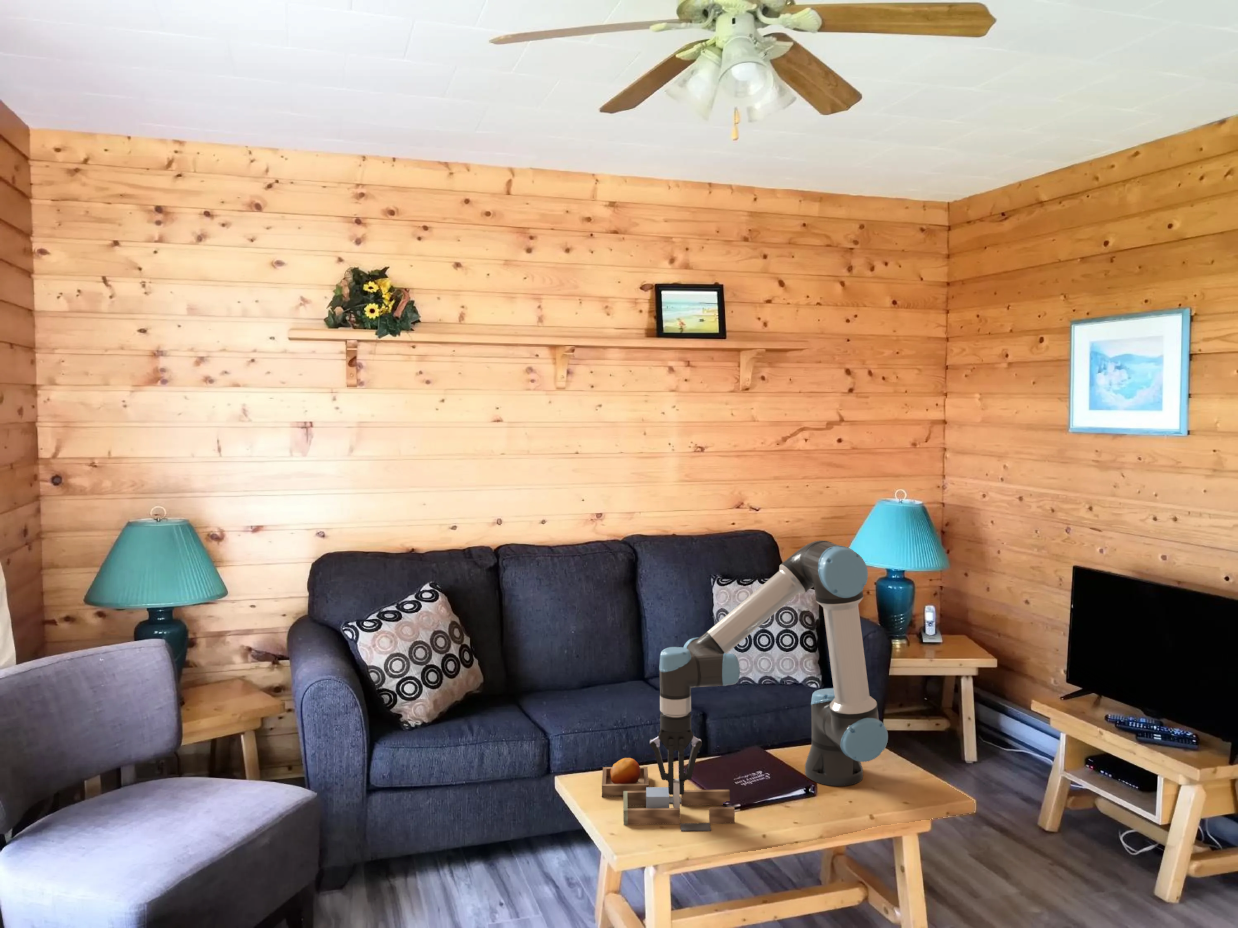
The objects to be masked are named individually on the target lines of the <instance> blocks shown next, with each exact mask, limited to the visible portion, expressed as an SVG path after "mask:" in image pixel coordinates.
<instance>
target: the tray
mask: <svg viewBox="0 0 1238 928" xmlns="http://www.w3.org/2000/svg"><path fill="white" fill-rule="evenodd" d="M612 767H613V766H605V767H604V766H602V773H601V774H602V775H601V798H623V791H646V787H650V785H649V768H648V767H649V766H640V777H639V780H638V782H637V783H636V784H614V783H613V782H612V781H611V774H610V771H611V768H612ZM639 782H640V783H639Z"/></svg>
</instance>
